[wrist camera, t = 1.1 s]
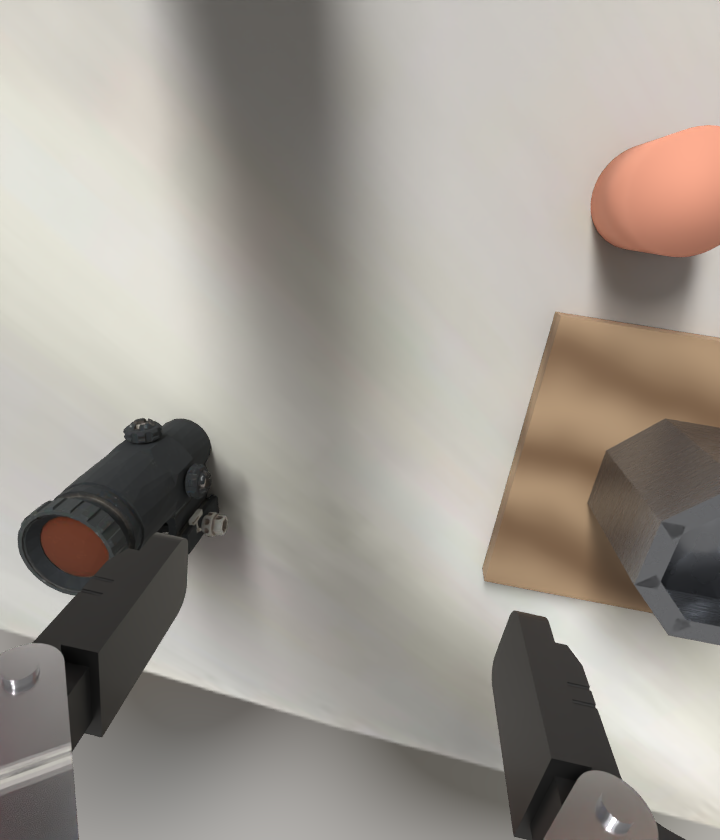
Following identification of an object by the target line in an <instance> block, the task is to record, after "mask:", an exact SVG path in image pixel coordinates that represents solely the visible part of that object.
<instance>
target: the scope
mask: <svg viewBox="0 0 720 840" xmlns="http://www.w3.org/2000/svg"><path fill="white" fill-rule="evenodd" d="M124 433H125V436H124V438H125V439H126V440H125V441H123V442H122V443H121V444H119V445H118V446H117V447H116V448H114V449H113V450H112V451H111V452H110V453H109V454H108V455H107V456H106V457H104V458H103V459H102V460H101V461H99V462H98V463H97V464H96V465H94V466H93V467H92V468H90V469H89V470H88V471H87V472H85V473H84V474H83V475H82V476H80V477H79V478H78V479H77V480H75V481H74V482H73V483H72V484H71V485H70V486H68V487H67V488H66V489H65V490H64V491H63V492H62V493H61V494H60V495H58V496H57V497H56V498H55V499H54V500H53V501H48V502H46V503H44V504H42V505H41V506H40V507H38V508H37V509H36V510H35V511H33V512H32V513H31V514H30V515H29V516H27V517H26V518H25V519H24V520H23V522H22V523H21V528H20V530H19V532H18V548H19V552H20V555H21V557H22V559H23V561H24V563H25V564H26V566H27V568H28V569H29V570H30V571H31V572H32V573H33V574H34V575H35V576H36V577H37V578H38V579H39V580H40V581H42V582H43V583H45V584H46V585H47V586H49V587H51V588H53V589H55V590H58V591H60V592H62V593H66V594H70V595H77V594H78V592H81V591H82V588H83V587H84V586H85V585H86V584H87V583H88V581H89V580H90V579H93V577H94V575H95V574H96V573H97V571H98V570H99V569H100V568H101V567H102V566H103V565H104V564H105V563H106V562H107V560H109V559H111V558H112V557H114V556H116V555H118V554H119V553H121V552H123V551H125V550H126V549H128V548H129V549H134V550H140V549H141V548H142V547H143V546H144V544H145V543H146V542H147V541H148V540H149V538H150V537H151V536H152V535H153V534H154V533H156V532H159V533H163V532H169V533H168V535H173V536H177V537H182V538H186V539H187V540H188V554H190V552H191V551H192V549H193V548H194V547H195V545H196V544H197V542H198V541H199V539H200V538H201V537H202V535H203V534H204V533H205V535H207V536H208V537H214V536H215V535H219V536H223V535H224V534H225V533H226V531H227V526H228V519H227V517H226V516H225V515H218V513H219V509H218V498H217V496H214V495H212V496H211V497H210V498H209V499H208V498H206V497H207V490H208V489H209V488H210V485H211V479H209V476H211V475H210V473H209V472H208V470H207V468H206V466H205V462H206V460H207V459H208V457H209V455H210V449H211V446H210V440H209V438H208V436H207V434H206V432H205V431H204V430H203V429H202V428H201V427H200V426H199V425H198V424H196V423H194V422H192V421H190V420H186V419H174V420H172V421H170V422H167V423H166V424H164V425H163V426H161V425H160V424H159V423H157V422H155V421H153V420H151V419H148V421H146V419H144V418H142V419H137V420H135V421H134V422H132V423H131V424H130V425H129V426H127V427H126V428H125V429H124Z"/></svg>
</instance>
